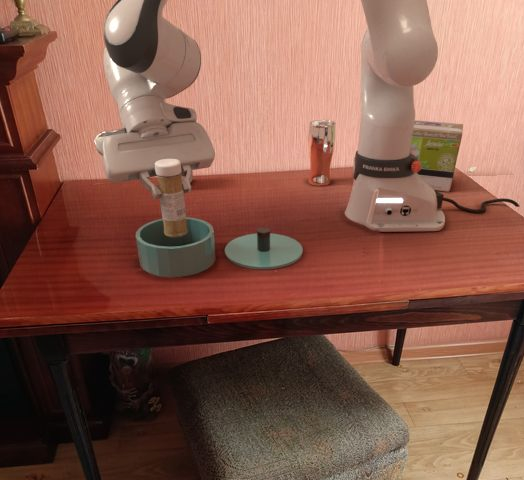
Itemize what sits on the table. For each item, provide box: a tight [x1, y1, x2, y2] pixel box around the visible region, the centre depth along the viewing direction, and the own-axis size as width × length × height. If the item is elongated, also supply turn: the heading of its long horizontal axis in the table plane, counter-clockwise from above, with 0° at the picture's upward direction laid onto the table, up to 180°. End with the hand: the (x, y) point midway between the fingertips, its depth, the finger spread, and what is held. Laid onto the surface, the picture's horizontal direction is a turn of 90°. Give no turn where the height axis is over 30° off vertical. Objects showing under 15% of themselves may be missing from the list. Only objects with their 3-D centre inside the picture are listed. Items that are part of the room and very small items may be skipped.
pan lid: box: [224, 227, 304, 271], centre depth 104 cm, size 16×16×5 cm
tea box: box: [410, 119, 464, 193], centre depth 135 cm, size 15×10×15 cm
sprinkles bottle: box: [155, 159, 188, 237], centre depth 95 cm, size 5×5×14 cm
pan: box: [135, 216, 217, 278], centre depth 101 cm, size 15×15×6 cm
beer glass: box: [307, 119, 337, 187], centre depth 136 cm, size 7×7×15 cm
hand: (172, 194), depth 94 cm, fingers closed on sprinkles bottle, 4 cm apart
